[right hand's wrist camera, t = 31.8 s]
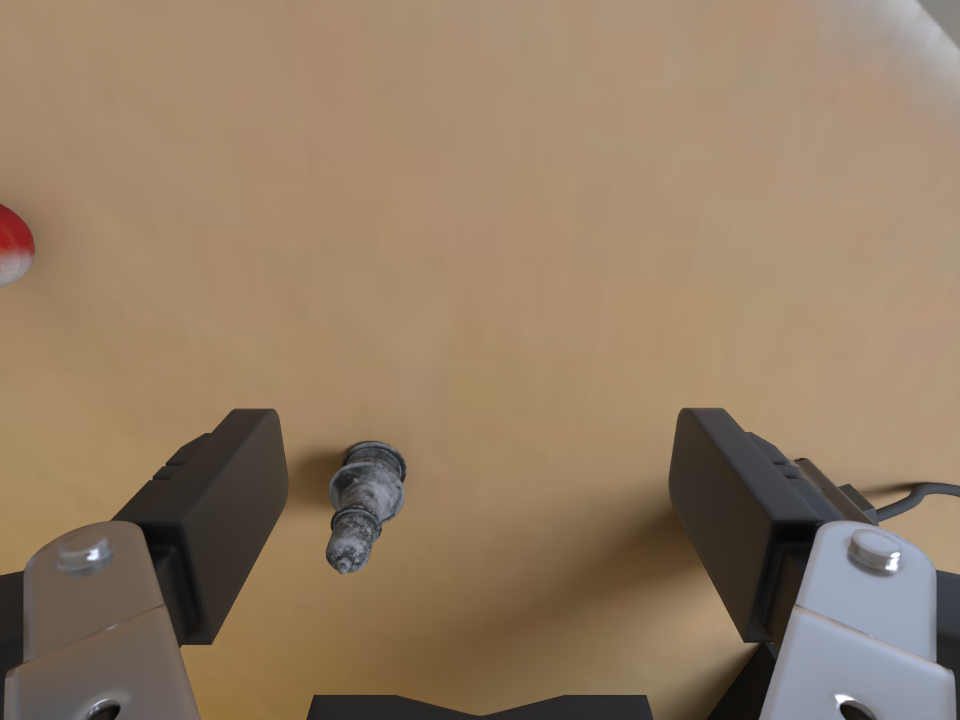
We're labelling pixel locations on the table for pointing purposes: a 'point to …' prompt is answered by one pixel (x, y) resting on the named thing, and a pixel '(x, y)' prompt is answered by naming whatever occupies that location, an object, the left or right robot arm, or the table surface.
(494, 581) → the table surface
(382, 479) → the grey tall turned piece
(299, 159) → the table surface
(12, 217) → the eyeball
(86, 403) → the table surface
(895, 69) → the table surface
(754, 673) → the cardboard box
